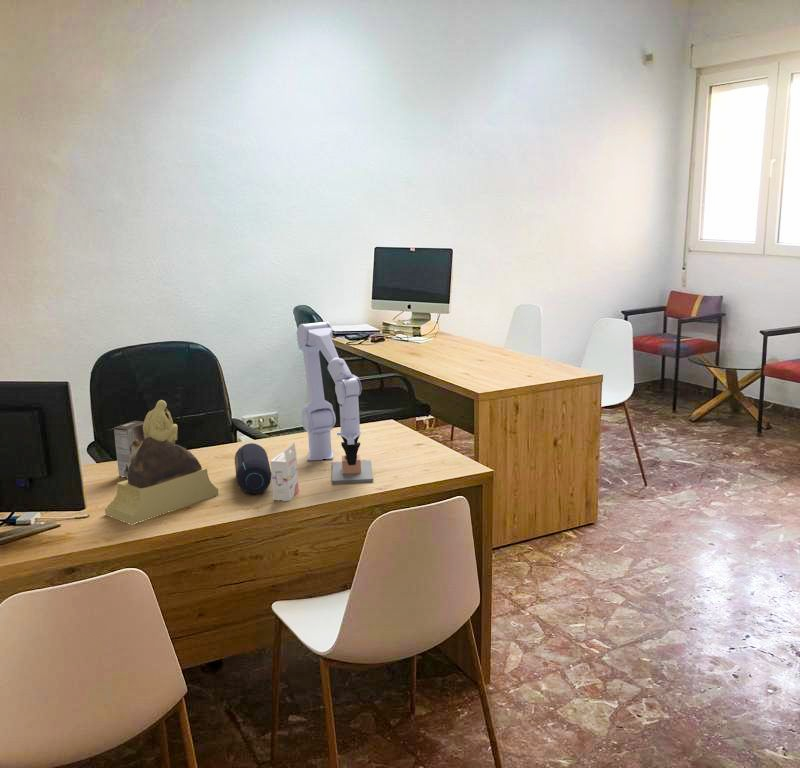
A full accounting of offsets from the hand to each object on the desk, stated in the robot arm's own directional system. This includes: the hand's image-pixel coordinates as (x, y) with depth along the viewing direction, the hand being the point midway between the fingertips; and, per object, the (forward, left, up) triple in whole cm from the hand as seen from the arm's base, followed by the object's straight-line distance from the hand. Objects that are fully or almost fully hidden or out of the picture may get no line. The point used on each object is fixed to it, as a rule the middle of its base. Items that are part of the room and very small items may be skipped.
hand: (351, 461), depth 252 cm
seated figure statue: (+18, -53, -4) cm, 56 cm away
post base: (0, 0, -4) cm, 4 cm away
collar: (0, 0, -3) cm, 3 cm away
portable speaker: (+4, -29, -4) cm, 30 cm away
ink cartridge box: (+17, -19, -4) cm, 26 cm away
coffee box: (-11, -67, -4) cm, 68 cm away
